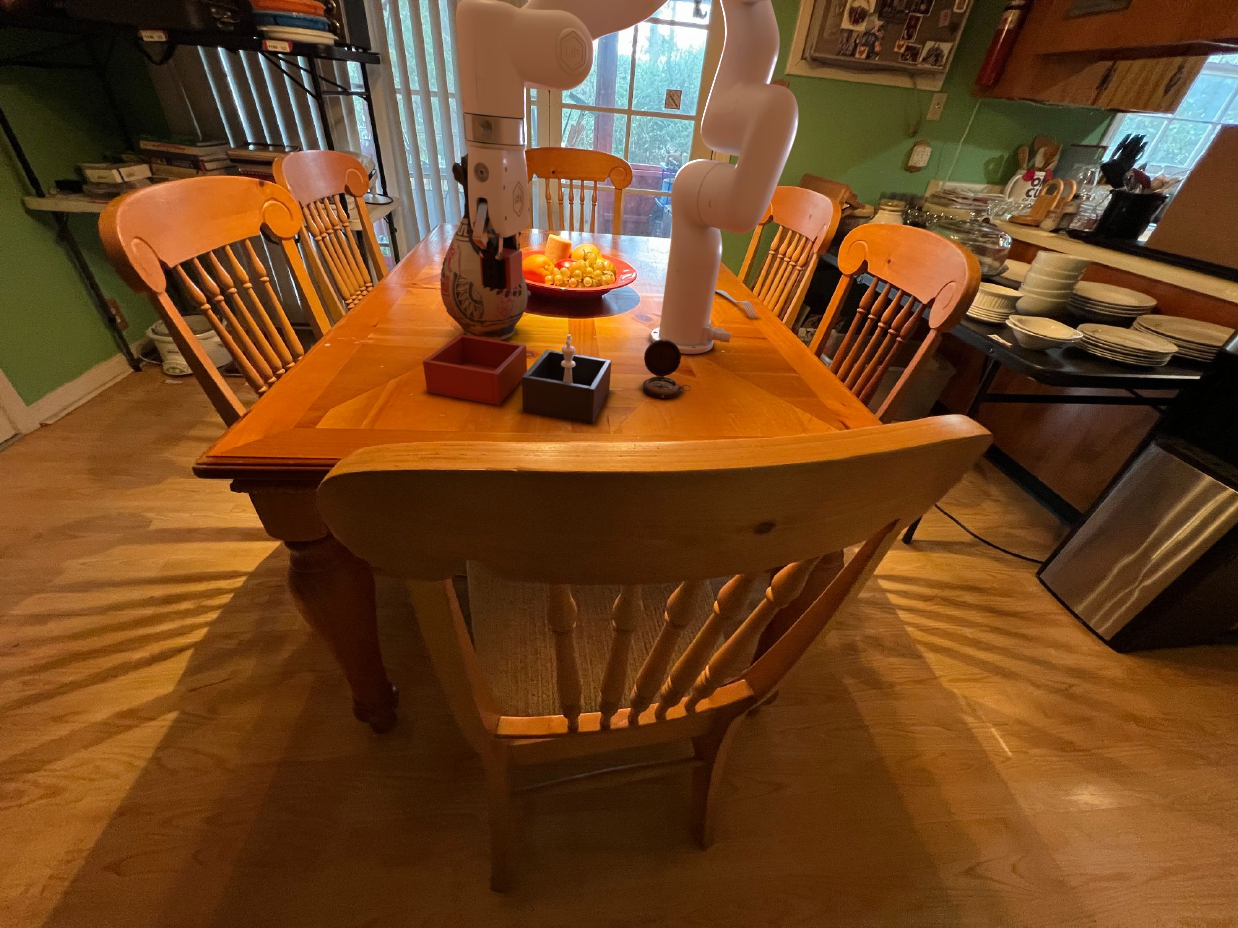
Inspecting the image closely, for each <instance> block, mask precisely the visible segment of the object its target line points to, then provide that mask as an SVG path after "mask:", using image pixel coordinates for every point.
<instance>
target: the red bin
mask: <svg viewBox="0 0 1238 928" xmlns="http://www.w3.org/2000/svg"><path fill="white" fill-rule="evenodd" d="M527 356H528V355H527V345H526V344H521V343H515V342H509V341H503V340H500V341H497V340H491V339H485V338H479V337H473V336H467V335H466V334H462V333H461V334H458V335H457V336H455V337H453V338H452V339H451V340H450V341H448V342H447V343H446V344H444V345H442V346H441V347H440V348H439V349H438V350H436V351H434V352H433V353H431V355H429V356H428V357H426V358H425V359H423V361H422V366H423V374H424V378H425V386H426V392H427V393H430V394H434V395H440V396H446V397H452V398H458V399H463V400H468V401H472V402H478V403H483V404H490V405H495V406H501V404H502V403H503V401H504V400H505V399H507V397H508V396H509V395H510V394H511V393H512V391H513V390H514V389H515V388H516V387H517V386H518V385H519V384H520V383H521V382H522V376H523V375H524V374H525V373H526V372H527V371H528V360H527V359H528V358H527Z"/></svg>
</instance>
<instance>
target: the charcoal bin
mask: <svg viewBox="0 0 1238 928" xmlns="http://www.w3.org/2000/svg"><path fill="white" fill-rule="evenodd" d="M564 360H565V359H564V355H563V352H562V351H557V350H553V349H552V350H551V349H545V350H544V352H543V353H542V354H541V355H540V356H539V357H538V358H537V359H536V360H535V361H534V363H533V364H532V365H531V366H530V367H529V368H528V369H527V372H526V373H525V374H524V375H523V376H522V380H521V393H522V394H521V397H522V399H521V400H522V412H524V413H529V414H533V415H534V414H535V415H539V416H545V417H550V418H555V419H561V420H566V421H567V420H568V421H571V422H572V421H573V422H576V423H577V422H578V423H582V424H583V423H584V424H589V425H593V424H594V422H595V420H596V418H597V417H598V415H599V413H600V411H601V409H602V407H603V405H604V403H605V401H606V400H607V397H608V395H609V393H610V388H611V387H610V386H611V373H612V360H611V359H607V358H600V357H594V356H588V355H582V354H576V353H574V356H573V359H572V361H574V362H575V364H576V365H575V366H574V367H572V379H573V383H567V382H563V379H564V372H565V367H563V366H562V365H561V363H562V361H564Z"/></svg>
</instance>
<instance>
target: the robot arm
mask: <svg viewBox="0 0 1238 928" xmlns="http://www.w3.org/2000/svg"><path fill="white" fill-rule="evenodd" d="M719 1H720V5H721V8H722V12H723V18H724V27H725V34H724V37H725V38H724V45H723V49H722V53H721V57H720V60H719V63H718V66H717V70H716V73H715V76H714V80H713V82H712V86H711V89H710V93H709V95H708V98H707V101H706V105H705V108H704V111H703V116H702V120H701V126H700V136H701V140H702V142H703V144H704V145H705V146H706V148H708V149H710V150H711V151H714V152H716V153H719V154H723V155H729V156H735V157H738V159H737V162H736V164H732V163H728V162H723V161H719V160H713V159H703V158H701V159H695V160H691V161H689V162H687V163H685V164H684V165H683V166H682V167H681V168H680V169H679V170H678V171H677V172H676V175H675V177H674V179H673V182H672V185H671V191H670V208H671V209H670V210H671V235H670V244H669V254H668V261H667V269H666V275H665V283H664V290H663V291H664V292H663V299H662V307H661V315H660V321H659V327H656V328H654V329H653V330H652V331H651V333H650V340H651V343H653V342H654V341H657V340H661V339H666V340H670V341H672V342H673V343H675V344H676V346H677V347H678V349H679V351H680V354H684V355H685V354H687V355H697V354H703V353H706V352H708V351H710V350H711V349H713V346H714V341H719V342H722V343H728V344H729V343H730V339H731V334H732V332H729V331H726V329H725V328H720V327H714V325H711V324H712V319H711V315H712V309H713V305H714V299H715V293H716V291H715V290H717V289H716V288H717V283H718V277H719V272H720V267H721V261H722V256H723V238H722V233H721V231H723V232H727V233H731V234H736V235H743V234H746V233H749V232H751V231H754V229H755V228H757V226H758V225H760V223H761V222H762V220H763V218H764V217H765V215H766V213H767V211H768V209H769V207H770V204H771V202H772V200H773V197H774V194H775V192H776V189H777V186H778V183H779V181H780V179H781V176H782V173H783V171H784V169H785V167H786V163H787V161H788V158H789V155H790V153H791V151H792V147H793V145H794V142H795V138H796V136H797V131H798V124H799V105H798V102H797V99H796V96H795V95H794V93H793V92H792V91H791V90H790V89H789V88H787V87H786V86H783V85H780V84H774V83H771V82H772V78H773V75H774V72H775V68H776V65H777V62H778V58H779V53H780V44H781V43H780V42H781V41H780V38H781V37H780V30H779V25H778V22H777V18H776V14H775V10H774V6H773V4H772V0H719ZM668 2H670V0H529V1H527V2H526V3H524V5H523V6H522V7H516V6H515V5H513V4H511V3H508V2H506V1H500V0H461V1H459V2H458V4H457V6H456V11H455V25H456V39H457V53H458V65H459V66H458V67H459V79H460V90H461V105H462V116H463V117H462V119H463V130H464V132H463V133H464V145H465V146H468V148H467V149H468V150H467V151H468V152H467V154H468V198H469V213H470V222H471V227H472V229H473V241H474V242H475V243H476V244H477V245H478V248H479V250H480V257H481V258H482V273H483V285H484V286H485V287H488V288H494V289H501V290H504V289H505V288H506V272H505V259H502V250H503V248H508V249H515V250H521V239H520V237H521V235H522V232H523V231H525V230H526V229H527V228H529V226H530V223H531V209H530V192H529V176H528V167H527V159H526V153H525V151H527V119H526V118H527V114H526V113H527V111H526V110H527V109H526V106H527V104H526V102H527V101H526V89H529V90H545V91H553V92H565V91H566V92H567V91H570V90H573V89H575V88H576V89H577V88H578V87H579V86H581V85H582V84H583V83H585V81H586V80H587V78H588V77H589V76H590V74H591V72H592V70H593V66H594V62H595V47H594V46H595V45H594V41H596V40H598V39H600V38H604V37H605V36H608V35H612V34H616V33H619V32H622V31H624V30H628V29H630V28H633V27H635V26H637V25H639V24H641V23H643V22H645V21H647V20H649V19H650V18H652V16H654V15H655V14H656V13H657V12H658V11H659V10H660V9H662V8H663V7H664V6H665V5H666V4H667V3H668ZM490 229H494V230H495V232H496V233H497V234H491V233H487V231H488V230H490ZM488 238H490V239H496V245H495V246H494V244H493V242H492V241H489V239H488Z"/></svg>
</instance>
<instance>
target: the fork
mask: <svg viewBox="0 0 1238 928" xmlns="http://www.w3.org/2000/svg"><path fill="white" fill-rule="evenodd" d="M715 293H718V294H720V295H722V296H724V297H725V298H727V299H729V300H730V301H731V302H733V303H735V304H741V305H742V307H743V308H744V310H745V312H746V313H747V315H748V317H749V318H750V319H755V318H756V319H758V316H757V313H756V310H755V308H754V305H753V304H752V303H751V301H749V300H748V301H747V300H745V301H743V300H742V301H741V300H740V301H738V300H735V298H733V297H732V296H731V295H730V294H729V293H727V291H725V290H724V289H715Z"/></svg>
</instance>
